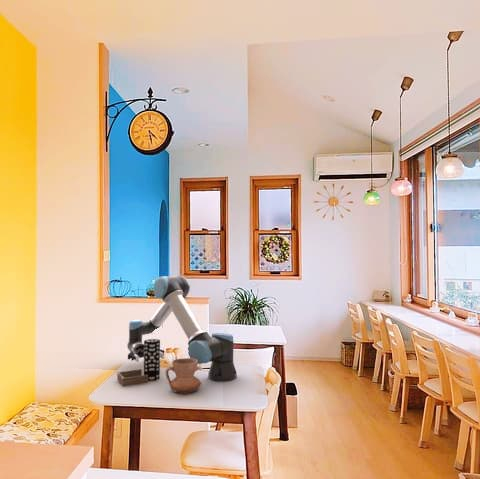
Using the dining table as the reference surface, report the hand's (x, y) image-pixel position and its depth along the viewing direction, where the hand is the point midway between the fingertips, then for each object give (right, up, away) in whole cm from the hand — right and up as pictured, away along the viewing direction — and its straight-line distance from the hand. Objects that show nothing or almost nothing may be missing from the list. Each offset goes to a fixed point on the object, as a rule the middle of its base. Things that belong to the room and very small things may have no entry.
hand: (150, 357), depth 213 cm
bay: (-8, -11, -6) cm, 15 cm away
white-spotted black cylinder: (+1, -11, -1) cm, 11 cm away
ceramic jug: (+20, -10, -20) cm, 30 cm away
